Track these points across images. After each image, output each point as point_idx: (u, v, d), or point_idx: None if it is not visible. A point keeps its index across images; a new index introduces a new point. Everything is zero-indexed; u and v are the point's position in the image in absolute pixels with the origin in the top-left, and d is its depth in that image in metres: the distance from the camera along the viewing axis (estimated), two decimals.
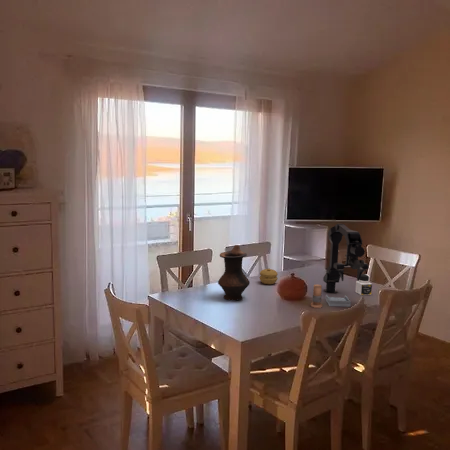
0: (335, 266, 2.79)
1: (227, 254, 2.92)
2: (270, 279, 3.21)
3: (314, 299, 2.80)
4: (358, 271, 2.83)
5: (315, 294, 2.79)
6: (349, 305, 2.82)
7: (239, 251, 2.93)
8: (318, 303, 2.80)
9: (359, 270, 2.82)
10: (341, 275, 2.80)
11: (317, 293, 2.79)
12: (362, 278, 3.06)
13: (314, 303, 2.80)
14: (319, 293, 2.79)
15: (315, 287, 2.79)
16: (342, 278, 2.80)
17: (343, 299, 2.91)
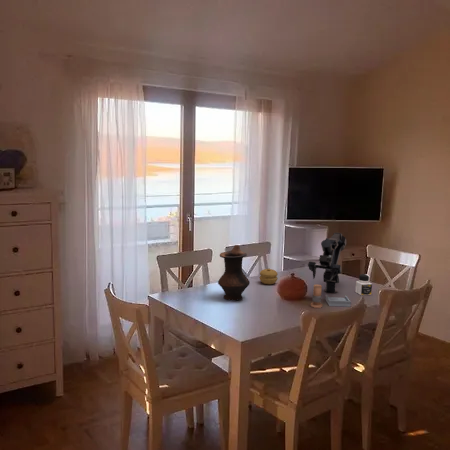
0: None
1: (227, 254, 2.92)
2: (270, 279, 3.21)
3: (314, 299, 2.80)
4: None
5: (315, 294, 2.79)
6: (349, 305, 2.82)
7: (239, 251, 2.93)
8: (318, 303, 2.80)
9: None
10: None
11: (317, 293, 2.79)
12: (362, 278, 3.06)
13: (314, 303, 2.80)
14: (319, 293, 2.79)
15: (315, 287, 2.79)
16: (313, 275, 2.89)
17: (343, 299, 2.91)
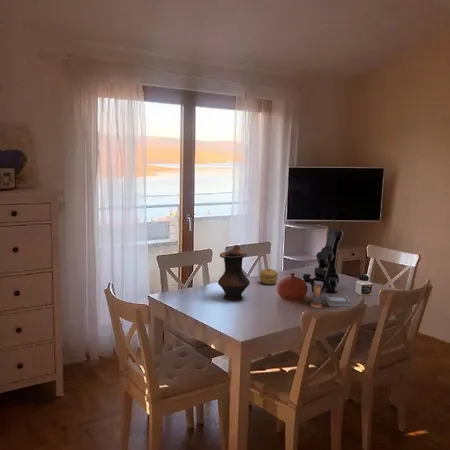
0: None
1: (227, 254, 2.92)
2: (270, 279, 3.21)
3: (314, 299, 2.80)
4: None
5: (315, 294, 2.79)
6: (349, 305, 2.82)
7: (239, 251, 2.93)
8: (318, 303, 2.80)
9: None
10: None
11: (317, 293, 2.79)
12: (362, 278, 3.06)
13: (314, 303, 2.80)
14: (319, 293, 2.79)
15: (315, 287, 2.79)
16: (312, 288, 2.81)
17: (343, 299, 2.91)
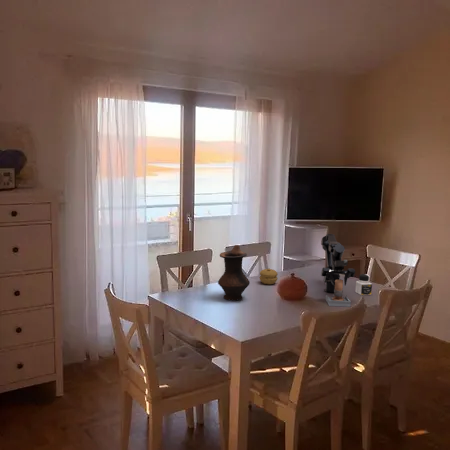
0: (322, 271, 2.91)
1: (227, 254, 2.92)
2: (270, 279, 3.21)
3: (337, 294, 2.86)
4: (344, 278, 2.89)
5: (338, 289, 2.85)
6: (349, 305, 2.82)
7: (239, 251, 2.93)
8: (341, 297, 2.86)
9: (345, 276, 2.89)
10: (331, 278, 2.87)
11: (340, 288, 2.85)
12: (362, 278, 3.06)
13: (337, 298, 2.86)
14: (342, 287, 2.86)
15: (338, 282, 2.85)
16: (332, 281, 2.86)
17: None
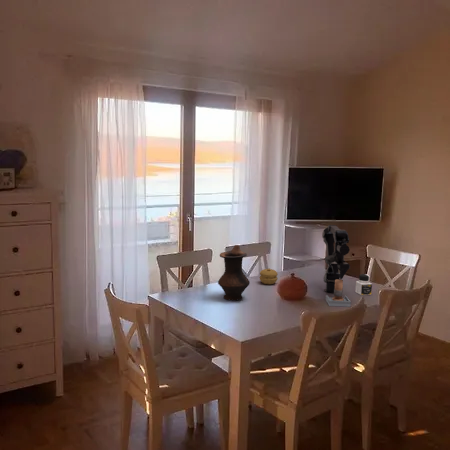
0: None
1: (227, 254, 2.92)
2: (270, 279, 3.21)
3: (337, 294, 2.86)
4: None
5: (338, 289, 2.85)
6: (349, 305, 2.82)
7: (239, 251, 2.93)
8: (341, 297, 2.87)
9: None
10: (332, 269, 3.01)
11: (340, 288, 2.85)
12: (362, 278, 3.06)
13: (337, 298, 2.86)
14: (342, 287, 2.86)
15: (338, 282, 2.85)
16: (333, 272, 3.00)
17: None
